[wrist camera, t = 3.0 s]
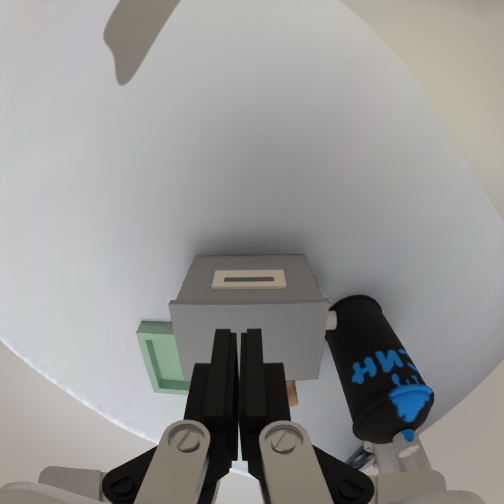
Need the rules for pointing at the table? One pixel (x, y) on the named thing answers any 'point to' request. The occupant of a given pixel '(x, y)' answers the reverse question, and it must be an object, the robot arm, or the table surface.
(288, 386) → the walnut block
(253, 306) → the box
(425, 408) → the aerosol can
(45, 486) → the robot arm
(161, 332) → the tray
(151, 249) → the table surface
